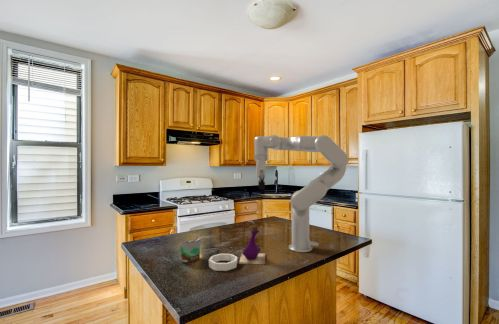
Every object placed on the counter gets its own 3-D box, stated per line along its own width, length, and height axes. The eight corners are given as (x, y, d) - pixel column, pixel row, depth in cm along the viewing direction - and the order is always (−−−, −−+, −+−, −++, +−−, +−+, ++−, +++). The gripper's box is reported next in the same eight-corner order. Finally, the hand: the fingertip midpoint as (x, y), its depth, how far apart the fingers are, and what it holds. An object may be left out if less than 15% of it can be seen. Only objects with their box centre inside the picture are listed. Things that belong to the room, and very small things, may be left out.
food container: (189, 266, 115) (189, 244, 115) (179, 263, 119) (179, 242, 119) (207, 258, 126) (207, 237, 126) (198, 255, 129) (198, 235, 129)
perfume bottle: (260, 255, 127) (260, 219, 127) (257, 261, 119) (257, 222, 119) (246, 254, 128) (246, 218, 128) (242, 260, 121) (242, 221, 121)
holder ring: (238, 260, 123) (238, 254, 123) (235, 271, 110) (235, 264, 111) (212, 259, 124) (212, 253, 124) (206, 270, 111) (206, 263, 111)
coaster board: (265, 255, 130) (265, 253, 130) (264, 264, 118) (264, 262, 118) (241, 254, 131) (241, 252, 131) (239, 263, 119) (239, 262, 119)
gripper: (254, 158, 153) (254, 187, 153) (254, 158, 136) (255, 190, 136) (266, 158, 153) (267, 187, 153) (268, 157, 136) (269, 190, 136)
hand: (261, 188), depth 144 cm, fingers open, 9 cm apart
